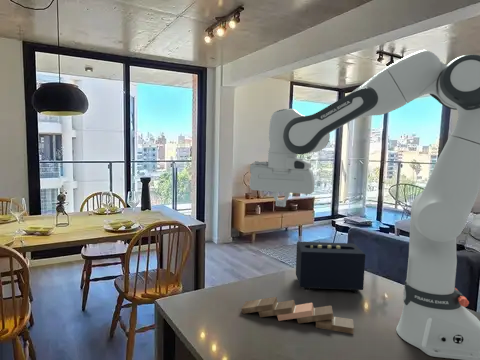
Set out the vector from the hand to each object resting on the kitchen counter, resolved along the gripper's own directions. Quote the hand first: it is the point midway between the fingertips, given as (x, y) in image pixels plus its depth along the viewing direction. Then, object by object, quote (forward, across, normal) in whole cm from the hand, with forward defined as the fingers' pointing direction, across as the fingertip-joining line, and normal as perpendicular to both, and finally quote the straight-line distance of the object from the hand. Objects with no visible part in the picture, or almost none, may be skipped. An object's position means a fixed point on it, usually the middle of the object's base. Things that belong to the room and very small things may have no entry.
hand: (280, 206), depth 109 cm
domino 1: (+30, -8, -10) cm, 33 cm away
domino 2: (+30, -2, -10) cm, 32 cm away
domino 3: (+30, +3, -10) cm, 32 cm away
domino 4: (+30, +8, -10) cm, 33 cm away
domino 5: (+30, +14, -10) cm, 35 cm away
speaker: (+31, +14, +19) cm, 39 cm away
